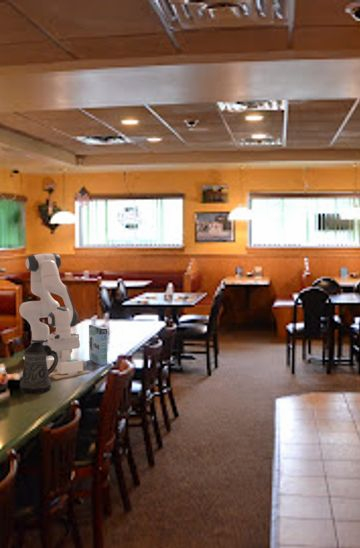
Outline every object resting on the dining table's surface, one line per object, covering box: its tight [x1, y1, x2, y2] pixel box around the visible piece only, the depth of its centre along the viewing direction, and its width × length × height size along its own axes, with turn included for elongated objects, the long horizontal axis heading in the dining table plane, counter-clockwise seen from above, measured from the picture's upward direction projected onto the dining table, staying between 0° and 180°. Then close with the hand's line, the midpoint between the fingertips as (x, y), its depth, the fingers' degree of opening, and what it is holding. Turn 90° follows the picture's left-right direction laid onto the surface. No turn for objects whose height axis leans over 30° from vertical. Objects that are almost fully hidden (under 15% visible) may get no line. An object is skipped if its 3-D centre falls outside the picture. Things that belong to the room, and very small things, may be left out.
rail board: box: [46, 356, 90, 380], centre depth 372 cm, size 20×22×8 cm
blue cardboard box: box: [88, 324, 108, 366], centre depth 401 cm, size 20×5×23 cm, turn 29°
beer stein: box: [19, 343, 58, 395], centre depth 335 cm, size 16×19×25 cm
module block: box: [58, 349, 70, 362], centre depth 372 cm, size 5×5×8 cm
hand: (64, 357), depth 372 cm, fingers closed on module block, 5 cm apart
